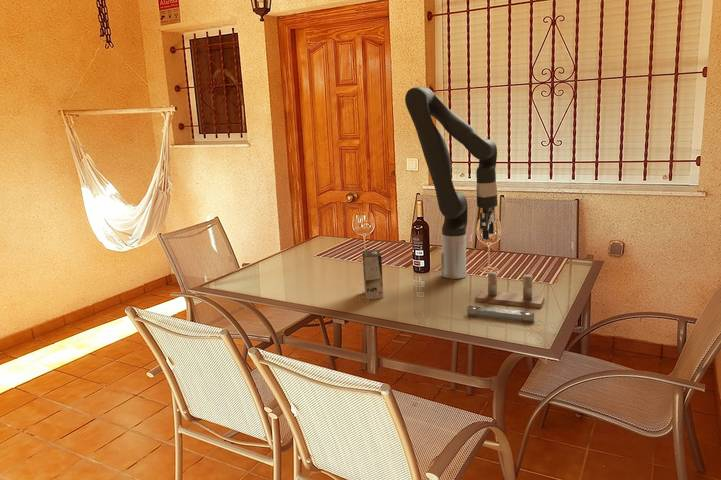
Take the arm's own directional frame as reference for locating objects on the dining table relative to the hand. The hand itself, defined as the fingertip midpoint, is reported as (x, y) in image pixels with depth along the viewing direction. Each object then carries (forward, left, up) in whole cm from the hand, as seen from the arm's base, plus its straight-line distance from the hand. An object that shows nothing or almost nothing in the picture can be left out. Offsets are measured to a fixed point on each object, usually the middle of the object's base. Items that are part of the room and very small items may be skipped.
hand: (488, 236), depth 222 cm
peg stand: (+12, -21, -17) cm, 29 cm away
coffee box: (-36, -29, -18) cm, 49 cm away
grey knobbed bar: (+12, -37, -17) cm, 42 cm away
